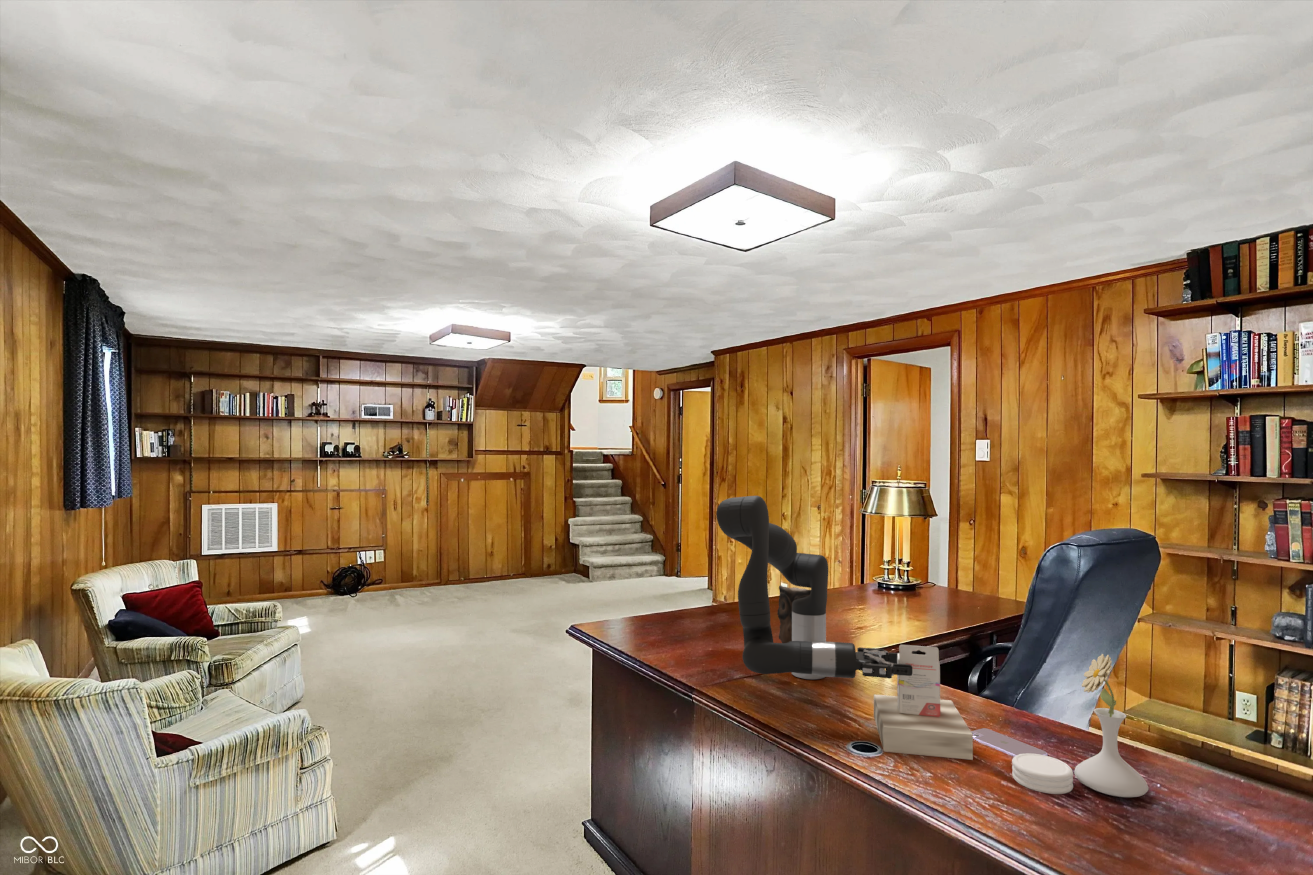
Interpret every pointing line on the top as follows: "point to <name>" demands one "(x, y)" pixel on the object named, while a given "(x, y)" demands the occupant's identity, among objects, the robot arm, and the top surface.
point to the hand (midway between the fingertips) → (909, 664)
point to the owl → (788, 610)
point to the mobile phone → (1004, 743)
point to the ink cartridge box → (919, 681)
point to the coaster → (1042, 773)
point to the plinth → (922, 730)
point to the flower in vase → (1108, 743)
